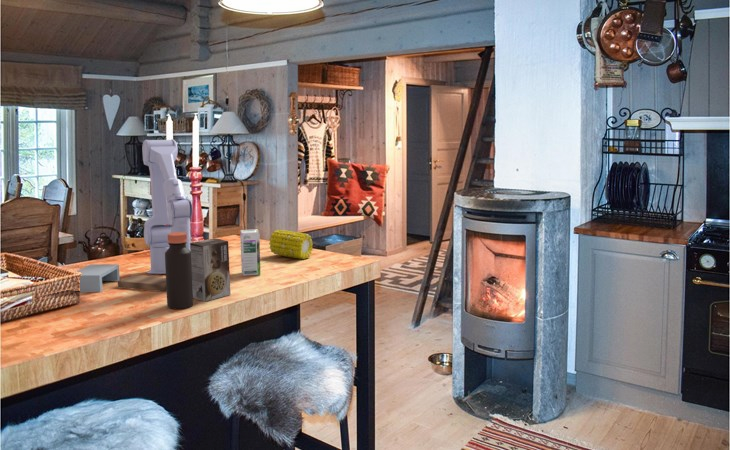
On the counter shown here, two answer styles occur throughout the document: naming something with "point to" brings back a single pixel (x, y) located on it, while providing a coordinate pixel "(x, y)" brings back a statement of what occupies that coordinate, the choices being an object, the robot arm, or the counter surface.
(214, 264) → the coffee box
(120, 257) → the counter surface
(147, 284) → the board
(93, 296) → the counter surface
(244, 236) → the syrup box
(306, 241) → the food
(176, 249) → the bottle
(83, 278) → the shelf
